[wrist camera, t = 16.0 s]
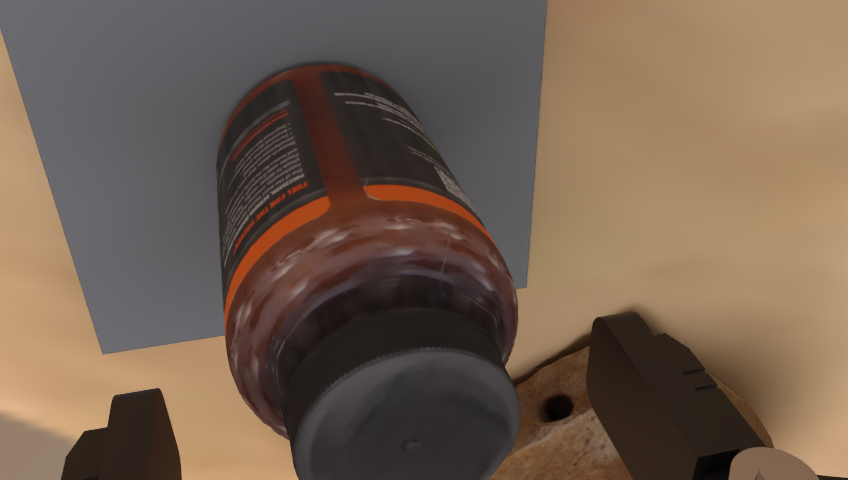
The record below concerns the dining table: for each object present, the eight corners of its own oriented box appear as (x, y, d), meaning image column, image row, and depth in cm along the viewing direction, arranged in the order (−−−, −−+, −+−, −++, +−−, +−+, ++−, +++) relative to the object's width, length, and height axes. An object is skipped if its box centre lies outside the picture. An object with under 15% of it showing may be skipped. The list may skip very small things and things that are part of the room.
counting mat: (539, -89, 21) (553, -83, 20) (516, 271, 27) (526, 287, 26) (-14, -57, 18) (-24, -49, 17) (106, 334, 24) (102, 354, 24)
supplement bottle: (197, 228, 22) (191, 564, 13) (238, 32, 20) (267, 274, 10) (389, 257, 24) (503, 563, 15) (449, 83, 22) (631, 323, 12)
